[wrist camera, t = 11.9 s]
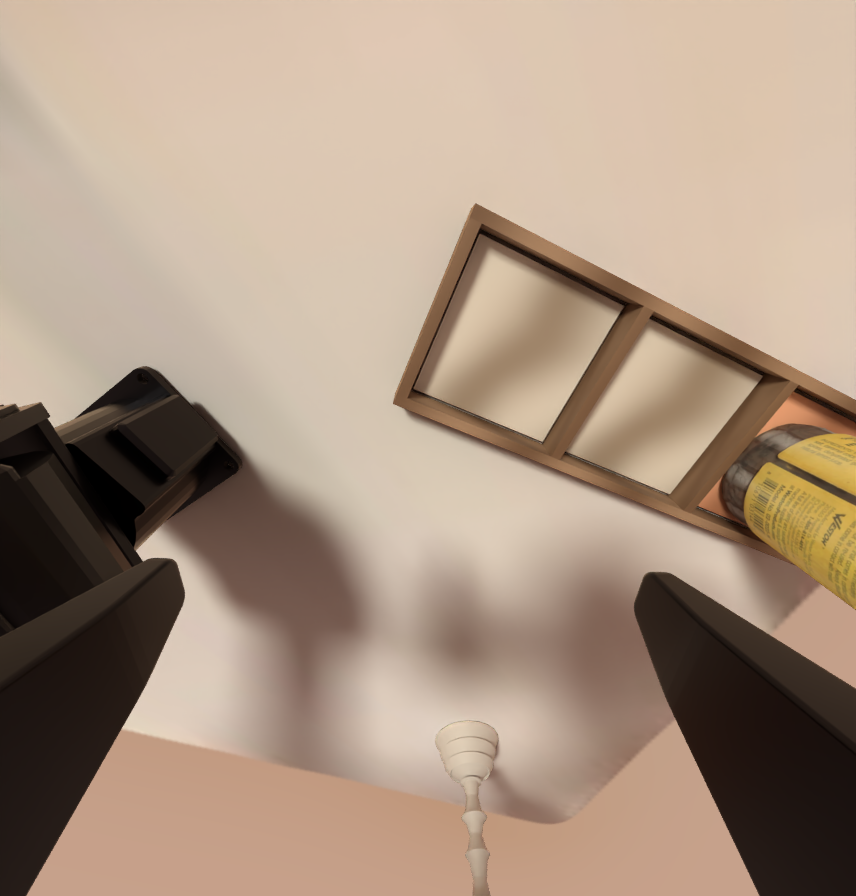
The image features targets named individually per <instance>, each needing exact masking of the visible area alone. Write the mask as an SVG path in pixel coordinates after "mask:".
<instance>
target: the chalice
mask: <svg viewBox="0 0 856 896" xmlns="http://www.w3.org/2000/svg"><path fill="white" fill-rule="evenodd" d="M435 743H436V747H437V749H438V750H439V752H440V753H441V754H440V755H441V759H442V761H443V763H444V764H445V769H446V772H447V773H448V774H449V776H450V777H451V778H452V779H453V780H454V781H455V782H457V783H460V785H461V786H462V787H464V790H465V794H466V809H465V812H464V814H463V816H462V821H463V822H464V823H465V824H466V825H467V828H468V832H469V835H470V838H469V846H468V850H467V852H466V855H465V856H466V858H467V860H468V861H469V863H470V867H471V872H472V876H473V896H490V892H489V888H488V883H487V861H488V858H489V856H490V853H489V851H488V850H487V848H486V847H485V843H484V840H483V837H482V831H483V824H484V822H485V821H486V818H487V816H486V814H485V813H484V812H483V811H482V810H481V806H480V803H479V799H478V789H479V786H480V785H481V783H482V781H484V780H486V779H487V778H488V777H489V775H490V773H491V771H492V769H493V766H494V765H493V760H494V757H495V755H496V751H495V748H496V746H497V743H498V734H497V733H496V731H495V730H494V729H493V728H492V727H490V726H489V725H487V724H484V723H481V722H475V721H462V722H456V723H453V724H450V725H448V726H446V727H445V728H443V729H441V731H440V732H439V733H438V734H437V736H436V740H435Z"/></svg>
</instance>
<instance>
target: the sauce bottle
mask: <svg viewBox="0 0 856 896" xmlns="http://www.w3.org/2000/svg"><path fill="white" fill-rule="evenodd" d="M722 495H723V499H724V500H725V502H726V505H727V507H728V509H729V511H730V512H731V513H732V514H733V515H734V516H735V517H736V518H737V519H738V520H740V521H741V522H743V523H744V524H746V525H747V526H749V528H750V529H751V530H752V532H753V533H754V534H755V535H756V536H758V537H759V538H760V539H762V540H763V541H764V542H766V543H767V544H768V545H770V546H771V547H772V548H773V549H775V550H776V551H778V552H779V553H780V554H782V555H783V556H784V557H786V558H787V559H788V560H790V561H791V562H792V563H794V564H795V565H796V566H798V567H799V568H800V569H802V570H803V571H804V572H806V573H807V574H808V575H810V576H811V577H812V578H814V579H815V580H816V581H817V582H819V583H820V584H821V585H823V586H824V587H825V588H827V589H829V590H830V591H831V592H832V593H834V594H835V595H836V596H838V597H839V598H841V599H842V600H843V601H844V602H846V603H847V604H848V605H850V606H851V607H852V608H854V609H855V610H856V437H854V436H851V435H847V434H836V433H834V432H832V431H829V430H827V429H826V428H821V427H817V426H813V425H805V424H795V423H791V424H785V425H781V426H777V427H775V428H772V429H771V430H768V431H766V432H764V433H762V434H760V435H758V436H757V437H755V438H754V439H753V440H752V441H751V443H750V444H749V445H748V446H747V447H746V449H745V450H744V451H743V452H742V453H741V455H740V456H739V457H738V458H737V459H736V461H735V462H734V463H733V464H732V465H731V467H730V468H729V469H728V470H727V471H726V473H725V475H724V478H723V482H722Z"/></svg>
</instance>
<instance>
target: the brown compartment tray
mask: <svg viewBox="0 0 856 896" xmlns="http://www.w3.org/2000/svg"><path fill="white" fill-rule="evenodd" d="M479 228H480V229H482V230H484V231H486V232H488V233H490V234H492V235H494V236H496V237H498V238H500V239H502V240H503V241H505V242H507V243H509V244H511V245H513V246H515V247H517V248H519V249H521V250H523V251H525V252H527V253H529V254H531V255H533V256H535V257H537V258H539V259H541V260H543V261H545V262H547V263H549V264H551V265H553V266H555V267H557V268H559V269H561V270H563V271H565V272H567V273H569V274H571V275H573V276H575V277H577V278H579V279H581V280H583V281H584V282H586V283H588V284H590V285H592V286H594V287H596V288H598V289H600V290H602V291H604V292H606V293H608V294H610V295H612V296H614V297H616V298H618V299H620V300H622V301H624V302H626V303H627V304H626V306H625V308H624V309H623V307H624V306H623V305H621V304H619V303H617V302H615V301H613V300H611V299H609V298H607V297H605V296H603V295H601V294H599V293H597V292H595V291H593V290H591V289H589V288H587V287H585V286H583V285H581V284H579V283H577V282H575V281H573V280H571V279H569V278H567V277H565V276H563V275H561V274H559V273H557V272H555V271H553V270H551V269H549V268H547V267H545V266H543V265H541V264H539V263H537V262H535V261H533V260H531V259H529V258H527V257H525V256H523V255H521V254H519V253H517V252H515V251H513V250H512V249H510V248H508V247H506V246H504V245H502V244H500V243H498V242H496V241H494V240H492V239H490V238H488V237H486V236H484V235H482V234H479V235H478V237H477V240H476V242H475V244H474V247H473V249H472V251H471V254H470V256H469V258H468V261H467V263H466V265H465V268H464V270H463V272H462V275H461V277H460V279H459V282H458V284H457V287H456V289H455V291H454V294H453V296H452V298H451V301H450V303H449V305H448V308H447V310H446V312H445V315H444V317H443V319H442V322H441V324H440V326H439V329H438V331H437V333H436V336H435V338H434V340H433V343H432V345H431V347H430V350H429V352H428V354H427V357H426V359H425V361H424V364H423V366H422V368H421V371H420V373H419V375H418V378H417V380H416V382H415V385H414V388H413V389H415V390H418V391H420V392H423V393H425V394H428V395H430V396H432V397H435V398H437V399H440V400H442V401H445V402H447V403H449V404H452V405H454V406H457V407H459V408H461V409H464V410H466V411H469V412H471V413H474V414H476V415H478V416H481V417H483V418H486V419H488V420H491V421H493V422H495V423H498V424H500V425H503V426H505V427H508V428H510V429H512V430H515V431H517V432H520V433H522V434H525V435H527V436H529V437H532V438H534V439H537V440H539V441H542V442H543V440H544V439H545V437H546V435H547V434H548V432H549V430H550V429H551V427H552V425H553V424H554V422H555V420H556V419H557V417H558V415H559V414H560V412H561V410H562V409H563V407H564V405H565V404H566V402H567V400H568V399H569V397H570V395H571V394H572V392H573V390H574V389H575V387H576V385H577V384H578V382H579V380H580V379H581V377H582V375H583V374H584V372H585V370H586V369H587V367H588V365H589V364H590V362H591V360H592V359H593V357H594V355H595V354H596V352H597V350H598V349H599V347H600V345H601V344H602V342H603V340H604V339H605V337H606V335H607V334H608V332H609V330H610V329H611V327H612V325H613V324H614V322H615V320H616V319H617V317H618V315H619V314H620V312H621V310H622V309H623V311H622V313H621V314H620V316H619V318H618V319H617V321H616V323H615V324H614V326H613V328H612V329H611V331H610V333H609V334H608V336H607V338H606V339H605V341H604V343H603V344H602V346H601V348H600V349H599V351H598V352H597V354H596V356H595V357H594V359H593V361H592V362H591V364H590V366H589V367H588V369H587V371H586V372H585V374H584V376H583V377H582V379H581V381H580V382H579V384H578V386H577V387H576V389H575V391H574V392H573V394H572V396H571V397H570V399H569V401H568V402H567V404H566V406H565V407H564V409H563V411H562V412H561V414H560V416H559V417H558V419H557V421H556V422H555V424H554V426H553V427H552V429H551V431H550V432H549V434H548V436H547V437H546V439H545V441H544V442H543V444H541V443H538V442H536V441H533V440H531V439H528V438H526V437H524V436H521V435H519V434H516V433H514V432H511V431H509V430H507V429H504V428H502V427H499V426H497V425H494V424H492V423H490V422H487V421H485V420H482V419H480V418H477V417H475V416H473V415H470V414H468V413H465V412H463V411H460V410H458V409H456V408H453V407H451V406H448V405H446V404H443V403H441V402H439V401H436V400H434V399H431V398H429V397H426V396H424V395H421V394H419V393H417V392H414V391H412V390H411V388H412V386H413V384H414V381H415V379H416V377H417V374H418V372H419V369H420V367H421V365H422V362H423V360H424V358H425V355H426V353H427V351H428V348H429V346H430V344H431V341H432V339H433V337H434V334H435V332H436V330H437V327H438V325H439V322H440V320H441V318H442V315H443V313H444V311H445V308H446V306H447V304H448V301H449V299H450V297H451V294H452V292H453V290H454V287H455V285H456V283H457V280H458V278H459V275H460V273H461V271H462V268H463V266H464V264H465V261H466V259H467V257H468V254H469V252H470V250H471V247H472V245H473V243H474V240H475V238H476V236H477V233H478V231H479ZM651 315H652V316H654V317H656V318H658V319H660V320H662V321H664V322H665V323H667V324H669V325H671V326H673V327H675V328H677V329H679V330H681V331H683V332H685V333H687V334H689V335H691V336H693V337H695V338H697V339H699V340H701V341H703V342H705V343H707V344H709V345H711V346H713V347H715V348H717V349H719V350H721V351H723V352H725V353H727V354H729V355H731V356H733V357H735V358H737V359H739V360H741V361H743V362H745V363H747V364H748V365H750V366H752V367H754V368H756V369H758V370H760V371H762V372H764V374H763V375H760V374H758V373H756V372H754V371H752V370H750V369H748V368H746V367H744V366H742V365H740V364H738V363H736V362H734V361H732V360H730V359H728V358H726V357H724V356H722V355H720V354H718V353H716V352H714V351H712V350H710V349H708V348H706V347H704V346H702V345H700V344H698V343H696V342H694V341H692V340H690V339H688V338H686V337H684V336H682V335H680V334H678V333H676V332H674V331H672V330H670V329H668V328H666V327H664V326H662V325H660V324H658V323H656V322H654V321H652V320H651V319H649V318H650V316H651ZM795 389H798V390H800V391H802V392H804V393H806V394H808V395H810V396H812V397H814V398H816V399H818V400H820V401H822V402H824V403H826V404H828V405H829V406H831V407H833V408H835V409H837V410H839V411H841V412H843V413H845V414H847V415H849V416H851V417H853V418H855V419H856V400H855V399H853V398H851V397H849V396H847V395H845V394H843V393H841V392H839V391H837V390H835V389H833V388H831V387H829V386H827V385H826V384H824V383H822V382H820V381H818V380H816V379H814V378H812V377H810V376H808V375H806V374H804V373H802V372H800V371H798V370H797V369H795V368H793V367H791V366H789V365H787V364H785V363H783V362H781V361H779V360H777V359H775V358H773V357H771V356H769V355H768V354H766V353H764V352H762V351H760V350H758V349H756V348H754V347H752V346H750V345H748V344H746V343H744V342H742V341H741V340H739V339H737V338H735V337H733V336H731V335H729V334H727V333H725V332H723V331H721V330H719V329H717V328H715V327H713V326H712V325H710V324H708V323H706V322H704V321H702V320H700V319H698V318H696V317H694V316H692V315H690V314H688V313H686V312H684V311H683V310H681V309H679V308H677V307H675V306H673V305H671V304H669V303H667V302H665V301H663V300H661V299H659V298H657V297H656V296H654V295H652V294H650V293H648V292H646V291H644V290H642V289H640V288H638V287H636V286H634V285H632V284H630V283H628V282H627V281H625V280H623V279H621V278H619V277H617V276H615V275H613V274H611V273H609V272H607V271H605V270H603V269H601V268H599V267H598V266H596V265H594V264H592V263H590V262H588V261H586V260H584V259H582V258H580V257H578V256H576V255H574V254H572V253H571V252H569V251H567V250H565V249H563V248H561V247H559V246H557V245H555V244H553V243H551V242H549V241H547V240H545V239H543V238H542V237H540V236H538V235H536V234H534V233H532V232H530V231H528V230H526V229H524V228H522V227H520V226H518V225H516V224H514V223H513V222H511V221H509V220H507V219H505V218H503V217H501V216H499V215H497V214H495V213H493V212H491V211H489V210H487V209H485V208H484V207H482V206H480V205H478V204H475V205H474V206H473V207H472V208H471V211H470V213H469V215H468V218H467V220H466V223H465V225H464V228H463V230H462V232H461V235H460V237H459V240H458V242H457V245H456V247H455V249H454V252H453V254H452V257H451V259H450V262H449V264H448V267H447V269H446V271H445V274H444V276H443V279H442V281H441V284H440V286H439V288H438V291H437V293H436V296H435V298H434V301H433V303H432V305H431V308H430V310H429V313H428V315H427V318H426V320H425V323H424V325H423V327H422V330H421V332H420V335H419V337H418V340H417V342H416V344H415V347H414V349H413V352H412V354H411V357H410V359H409V361H408V364H407V366H406V369H405V371H404V374H403V376H402V379H401V381H400V383H399V386H398V388H397V391H396V393H395V397H394V402H393V404H395V405H397V406H400V407H402V408H405V409H407V410H410V411H412V412H415V413H417V414H420V415H422V416H425V417H427V418H430V419H432V420H435V421H437V422H440V423H442V424H445V425H447V426H450V427H452V428H455V429H457V430H460V431H462V432H465V433H467V434H470V435H472V436H474V437H477V438H479V439H482V440H484V441H487V442H489V443H492V444H494V445H497V446H499V447H502V448H504V449H507V450H509V451H512V452H514V453H517V454H519V455H522V456H524V457H527V458H529V459H532V460H534V461H537V462H539V463H542V464H544V465H547V466H549V467H552V468H554V469H557V470H559V471H562V472H564V473H567V474H569V475H572V476H574V477H577V478H579V479H582V480H584V481H587V482H589V483H592V484H594V485H597V486H599V487H602V488H604V489H607V490H609V491H612V492H614V493H617V494H619V495H622V496H624V497H627V498H629V499H632V500H634V501H637V502H639V503H642V504H644V505H647V506H649V507H651V508H654V509H656V510H659V511H661V512H664V513H666V514H669V515H671V516H674V517H676V518H679V519H681V520H684V521H686V522H689V523H691V524H694V525H696V526H699V527H701V528H704V529H706V530H709V531H711V532H714V533H716V534H719V535H721V536H724V537H726V538H729V539H731V540H734V541H736V542H739V543H741V544H744V545H746V546H749V547H751V548H754V549H756V550H759V551H761V552H764V553H766V554H769V555H771V556H774V557H776V558H779V559H781V560H784V561H786V562H789V563H791V564H794V563H792V562H791V561H790V560H788V559H787V558H786V557H784V556H783V555H782V554H780V553H779V552H778V551H776V550H775V549H773V548H772V547H771V546H770V545H768V544H767V543H766V542H764V541H763V540H762V539H760V538H759V537H758V536H756V535H755V534H754V533H753V532H752V530H750V529H747V528H745V527H742V526H740V525H738V524H735V523H733V522H730V521H728V520H725V519H723V518H721V517H718V516H716V515H713V514H711V513H708V512H706V511H704V510H701V509H699V508H696V507H697V506H699V507H702V508H704V509H706V510H709V511H711V512H714V513H716V514H719V515H721V516H723V517H726V518H728V519H731V520H733V521H735V522H738V523H740V524H743V525H745V526H747V525H746V524H744V523H743V522H741V521H740V520H738V519H737V518H736V517H735V516H734V515H733V514H732V513H731V512H730V511H729V509H728V507H727V505H726V502H725V500H724V499H723V495H722V482H723V478H724V475H725V473H726V471H727V470H728V469H729V468H730V467H731V465H732V464H733V463H734V462H735V461H736V459H737V458H738V457H739V456H740V455H741V453H742V452H743V451H744V450H745V449H746V447H747V446H748V445H749V444H750V443H751V441H752V440H753V439H754V438H755V437H757V436H758V435H760V434H762V433H764V432H766V431H768V430H771V429H772V428H775V427H777V426H781V425H785V424H791V423H795V424H805V425H813V426H817V427H821V428H826V429H827V430H829V431H832V432H834V433H836V434H847V435H851V436H854V437H856V423H855V422H853V421H851V420H849V419H847V418H845V417H843V416H841V415H839V414H837V413H835V412H833V411H831V410H829V409H827V408H825V407H823V406H821V405H819V404H817V403H815V402H813V401H811V400H809V399H807V398H805V397H803V396H801V395H799V394H797V393H795V392H793V391H794V390H795ZM565 451H566V452H568V453H571V454H573V455H575V456H578V457H580V458H583V459H585V460H588V461H590V462H592V463H595V464H597V465H600V466H602V467H605V468H607V469H609V470H612V471H614V472H617V473H619V474H622V475H624V476H626V477H629V478H631V479H634V480H636V481H638V482H641V483H643V484H646V485H648V486H651V487H653V488H655V489H658V490H660V491H663V492H665V493H668V495H665V494H662V493H660V492H657V491H655V490H653V489H650V488H648V487H645V486H643V485H640V484H638V483H635V482H633V481H631V480H628V479H626V478H623V477H621V476H618V475H616V474H614V473H611V472H609V471H606V470H604V469H601V468H599V467H597V466H594V465H592V464H589V463H587V462H584V461H582V460H580V459H577V458H575V457H572V456H570V455H567V454H565V453H564V452H565ZM748 527H749V526H748ZM794 565H795V564H794Z"/></svg>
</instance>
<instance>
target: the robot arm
mask: <svg viewBox="0 0 856 896" xmlns="http://www.w3.org/2000/svg"><path fill="white" fill-rule="evenodd" d="M142 374H144V375H146V376H147V378H148V382H147V381H145V380H144V379H143V377H142ZM49 417H50V415H49V413H48V412H47V410H46V409H45V407H44V406H43V404H42V403H41V402H39V403H35V404H31V405H27V406H22V407H17V405H16V404H11V405H6V406H4V405H0V896H26V895H27V893H28V892H29V890H30V888H31V886H32V885H33V883H34V881H35V879H36V878H37V876H38V874H39V872H40V871H41V869H42V867H43V865H44V864H45V862H46V860H47V858H48V857H49V855H50V853H51V851H52V850H53V848H54V846H55V844H56V843H57V841H58V839H59V837H60V836H61V834H62V832H63V830H64V829H65V827H66V825H67V823H68V822H69V820H70V818H71V816H72V815H73V813H74V811H75V809H76V808H77V806H78V804H79V802H80V801H81V799H82V797H83V795H84V794H85V792H86V790H87V788H88V787H89V785H90V783H91V781H92V780H93V778H94V776H95V774H96V773H97V771H98V769H99V767H100V766H101V764H102V762H103V760H104V759H105V757H106V755H107V753H108V752H109V750H110V748H111V746H112V745H113V743H114V741H115V739H116V737H117V736H118V734H119V732H120V731H121V729H122V727H123V725H124V724H125V722H126V720H127V718H128V717H129V715H130V713H131V711H132V710H133V708H134V706H135V704H136V703H137V701H138V699H139V697H140V695H141V693H142V692H143V690H144V688H145V686H146V684H147V682H148V680H149V678H150V676H151V674H152V672H153V670H154V667H155V665H156V663H157V661H158V659H159V656H160V654H161V652H162V650H163V648H164V645H165V643H166V641H167V639H168V637H169V634H170V632H171V630H172V628H173V626H174V623H175V621H176V619H177V617H178V615H179V612H180V610H181V608H182V606H183V603H184V599H185V590H184V587H183V583H182V579H181V576H180V572H179V569H178V565H177V563H176V562H175V561H174V560H173V559H168V558H151V559H148V560H145V561H144V562H143V561H142V560H141V558H140V557H139V555H138V554H137V552H136V550H137V549H138V548H139V547H140V546H141V545H142V544H143V543H144V542H145V541H146V540H147V539H148V538H149V537H150V536H151V535H152V534H153V533H154V532H155V531H156V530H157V529H158V528H159V527H160V526H161V525H162V524H163V523H164V522H165V521H166V520H168V519H169V518H171V517H172V516H174V515H175V514H176V513H178V512H179V511H181V510H182V509H184V508H185V507H187V506H188V505H190V504H191V503H193V502H194V501H195V500H197V499H198V498H200V497H201V496H203V495H204V494H206V493H207V492H209V491H210V490H212V489H213V488H215V487H216V486H217V485H219V484H220V483H222V482H223V481H225V480H226V479H228V478H229V477H231V476H232V475H234V474H235V473H236V472H237V471H238V470H239V469H240V468H241V466H242V462H241V459H240V458H239V457H238V456H237V455H236V454H235V453H234V452H233V451H232V450H231V449H230V448H229V447H228V446H227V444H226V443H225V442H224V441H223V440H222V439H221V438H220V437H219V436H218V435H217V433H216V432H215V431H214V430H213V429H212V428H211V427H210V426H209V425H208V424H207V422H206V421H205V420H204V419H203V418H202V417H201V416H200V415H199V414H198V413H197V412H196V411H195V410H194V409H193V408H192V407H191V406H190V405H189V404H188V403H187V402H186V401H185V400H184V399H183V398H182V397H181V396H179V395H178V394H177V393H176V392H175V391H174V390H173V389H172V388H171V387H170V386H169V385H168V384H167V383H166V382H165V381H164V380H163V379H162V378H161V377H160V375H159V374H158V373H157V372H156V371H155V370H153V369H152V368H150V367H147V366H142V367H140V368H137V369H135V370H133V371H132V372H131V373H129V374H128V375H127V376H126V377H125V378H123V379H122V380H121V381H120V382H119V383H117V384H116V385H115V386H114V387H112V388H111V389H110V390H109V391H108V392H106V393H105V394H104V395H103V396H102V397H100V398H99V399H98V400H97V401H96V402H94V403H93V404H92V405H91V406H89V407H88V408H87V409H86V410H85V411H83V412H82V413H81V414H80V415H79V416H77V417H76V418H75V419H74V420H71V421H69V422H67V423H65V424H62V425H60V426H58V427H55V428H53V426H52V425H51V423H50V422H49V420H48V419H47V418H49ZM227 461H228V462H231V463H233V465H234V467H232V466H230V465H228V463H227ZM634 612H635V616H636V619H637V622H638V625H639V627H640V630H641V633H642V636H643V638H644V641H645V644H646V647H647V649H648V652H649V655H650V658H651V660H652V663H653V666H654V668H655V671H656V674H657V677H658V679H659V682H660V685H661V687H662V690H663V692H664V695H665V697H666V699H667V702H668V704H669V706H670V708H671V710H672V713H673V715H674V717H675V719H676V721H677V723H678V725H679V727H680V729H681V731H682V734H683V735H684V738H685V740H686V742H687V744H688V746H689V748H690V750H691V753H692V755H693V757H694V759H695V761H696V763H697V765H698V767H699V769H700V771H701V773H702V776H703V778H704V780H705V782H706V784H707V786H708V788H709V790H710V793H711V795H712V797H713V799H714V801H715V803H716V805H717V807H718V809H719V812H720V814H721V816H722V818H723V820H724V822H725V824H726V826H727V828H728V830H729V833H730V835H731V837H732V839H733V841H734V843H735V845H736V847H737V849H738V851H739V853H740V856H741V858H742V860H743V862H744V864H745V866H746V868H747V870H748V872H749V874H750V877H751V879H752V881H753V883H754V885H755V887H756V889H757V892H758V894H759V896H856V689H855V688H854V687H852V686H851V685H849V684H847V683H846V682H844V681H843V680H841V679H839V678H838V677H836V676H835V675H833V674H831V673H829V672H828V671H827V670H825V669H823V668H822V667H820V666H819V665H817V664H815V663H814V662H812V661H811V660H809V659H807V658H806V657H804V656H802V655H801V654H799V653H798V652H796V651H794V650H793V649H791V648H790V647H788V646H786V645H785V644H783V643H782V642H780V641H778V640H777V639H775V638H774V637H772V636H770V635H769V634H767V633H766V632H764V631H762V630H761V629H759V628H757V627H756V626H754V625H753V624H751V623H749V622H748V621H746V620H745V619H743V618H741V617H740V616H738V615H737V614H735V613H733V612H732V611H730V610H729V609H727V608H725V607H724V606H722V605H721V604H719V603H717V602H716V601H714V600H713V599H711V598H709V597H708V596H706V595H704V594H703V593H701V592H700V591H698V590H696V589H695V588H693V587H692V586H690V585H688V584H687V583H685V582H684V581H682V580H680V579H679V578H677V577H676V576H674V575H672V574H670V573H666V572H649V573H647V574H645V575H644V577H643V580H642V583H641V585H640V588H639V591H638V594H637V597H636V600H635V603H634Z"/></svg>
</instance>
